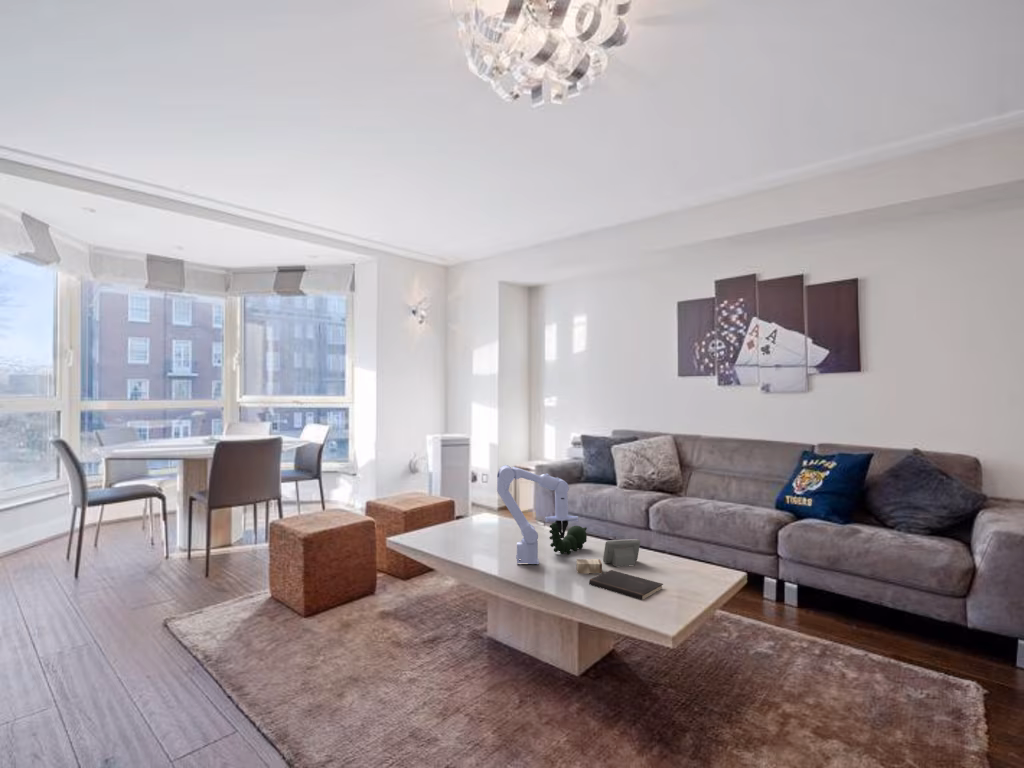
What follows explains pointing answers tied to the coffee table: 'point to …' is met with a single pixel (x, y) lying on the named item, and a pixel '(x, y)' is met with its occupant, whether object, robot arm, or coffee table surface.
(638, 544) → the digital clock
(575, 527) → the toy figurine
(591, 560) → the beech block
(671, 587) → the coffee table surface
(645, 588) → the hardcover book
